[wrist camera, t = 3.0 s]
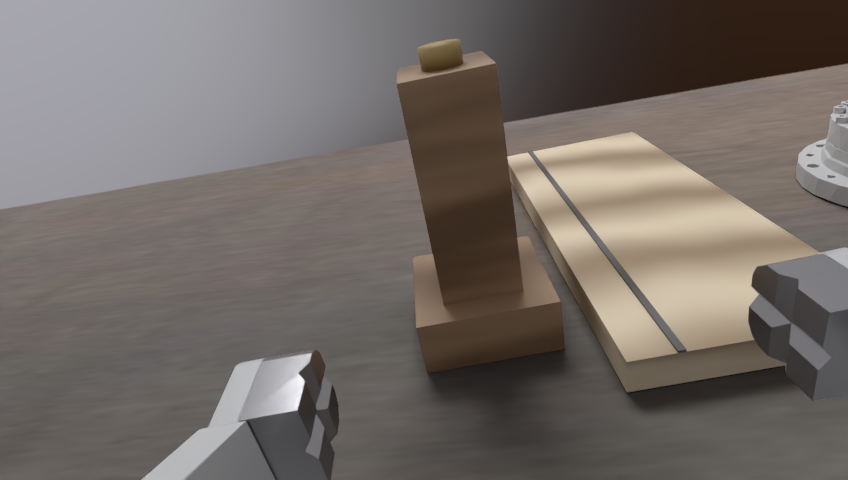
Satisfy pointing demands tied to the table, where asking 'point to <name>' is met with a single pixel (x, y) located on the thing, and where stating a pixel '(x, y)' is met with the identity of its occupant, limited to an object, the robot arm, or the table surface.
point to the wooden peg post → (470, 220)
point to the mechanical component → (828, 161)
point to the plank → (652, 257)
